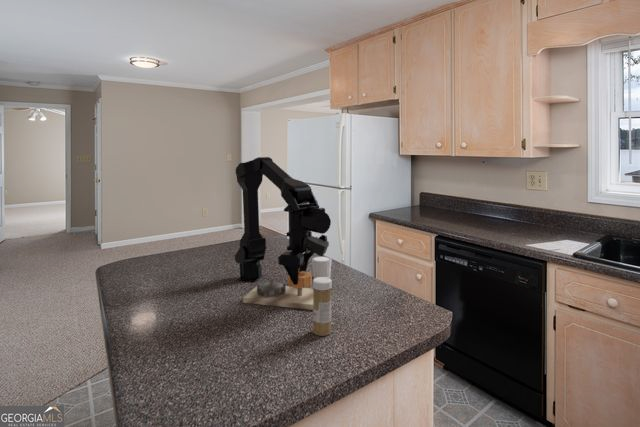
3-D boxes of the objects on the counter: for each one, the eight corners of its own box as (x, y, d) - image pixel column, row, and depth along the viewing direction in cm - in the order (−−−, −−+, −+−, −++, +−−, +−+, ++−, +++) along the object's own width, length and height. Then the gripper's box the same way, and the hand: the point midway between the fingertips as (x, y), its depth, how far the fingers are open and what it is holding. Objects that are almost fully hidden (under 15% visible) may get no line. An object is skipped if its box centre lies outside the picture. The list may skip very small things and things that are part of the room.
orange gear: (284, 287, 109) (284, 277, 108) (292, 279, 116) (292, 269, 115) (307, 289, 107) (307, 279, 107) (314, 281, 114) (314, 271, 113)
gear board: (242, 302, 110) (242, 284, 109) (259, 288, 122) (259, 271, 121) (315, 310, 105) (315, 291, 104) (326, 294, 116) (326, 277, 115)
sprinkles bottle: (311, 328, 94) (311, 276, 92) (329, 327, 95) (329, 275, 92) (314, 337, 89) (314, 283, 87) (333, 335, 90) (333, 281, 88)
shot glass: (330, 282, 127) (329, 262, 126) (310, 281, 128) (309, 261, 127) (333, 275, 133) (333, 256, 132) (314, 274, 135) (314, 255, 134)
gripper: (317, 236, 98) (317, 294, 100) (333, 223, 115) (333, 272, 118) (276, 234, 100) (278, 290, 103) (298, 221, 118) (299, 269, 121)
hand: (299, 280), depth 111 cm, fingers closed on orange gear, 7 cm apart
